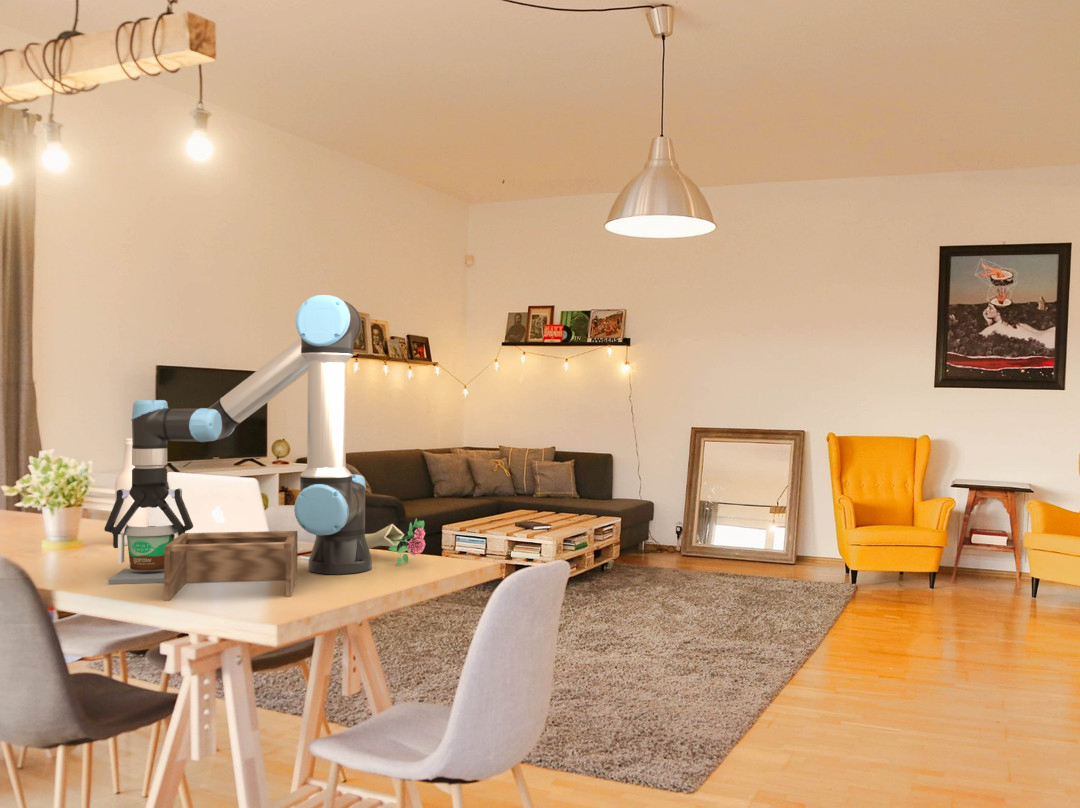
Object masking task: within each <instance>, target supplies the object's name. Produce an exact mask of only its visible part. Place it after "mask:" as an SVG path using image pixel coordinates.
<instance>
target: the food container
mask: <svg viewBox="0 0 1080 808" xmlns="http://www.w3.org/2000/svg"><path fill="white" fill-rule="evenodd" d="M176 532H178V531H177V530H176V528H175V527H174V526H173V524H169V525H161V526H156V525H150V526H148V527H132V526H128V524H127V525H126V527H125V530H124V535H127V541H128V546H127V548H128V560H129V569H133V570H160V569H164V547H165V546H166V545H167V544H169V543H170V542H171V541H173V540H174V534H175V533H176Z"/></svg>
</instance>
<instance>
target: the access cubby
mask: <svg viewBox="0 0 1080 808" xmlns="http://www.w3.org/2000/svg"><path fill="white" fill-rule="evenodd" d="M255 581H256V582H259V581H260V582H261V581H262V582H263V581H285V592H286V593H285V597H286V598H287V597H289V598H291V597H292V595H293V592H294V589H295V586H296V584H297V581H298V530H278V531H277V530H276V531H275V530H273V531H270V530H268V531H267V530H266V531H230V532H229V531H228V532H227V531H224V532H223V531H222V532H220V531H219V532H185V533H182V534H181V535H179V536H178V537H177V538H175V539H174V540H173V541H171V542H170V543H169V544H167V545H166V546H165V547H164V587H163V593H164V595H163V596H164V597H163V601H165V602H166V601H167V602H168V601H171V600H172V599H173V597H175V596H176V594H178V592H179V591H180V590H181V589H182V588H183V587H184V586H185V585H186V584H191V583H192V582H193V583H192V584H194V583H196V584H197V583H221V582H223V583H224V582H225V583H230V582H255Z"/></svg>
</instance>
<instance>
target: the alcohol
mask: <svg viewBox="0 0 1080 808" xmlns="http://www.w3.org/2000/svg"><path fill="white" fill-rule="evenodd" d="M123 455H124V456H123V464H122V465H123V466H122V470H121V472H120V473H119V474H118V475H117V477H116V479H115V482H114V503H115V502H116V494H117V491H118V490H120V489H124V490H130V489H131V487H132V470H133V468H135V466H133V465H132V437H126V438H124V453H123ZM133 503H134V500H133V498H132V497H131V496H130V495H128V497H127V498H126V499H124V502H123V505H122V507H121V509H120V512H119V514H118V517H117V519H116V521H115V524H114V527H116V526H117V525H118V523H119V522H120V521H121V519H122V518H123V517H124V515H125V514H126V513H127V511H128V510H129V508H130V507H131V505H132V504H133ZM149 508H150V507H146V508H141V507H139V508H138V509H137V510H136V512H135V513H134V514H133V516H132V517H131V518H130V520H129V521H128V522H127V524H128V526H132V527H148V526H149V525H150V523H149V521H150V519H149V517H150V515H149V511H150V509H149ZM127 524H126V525H127ZM126 525H125V526H124V528H123V529H122V531H121V532H120V533H124V530H125V527H126ZM126 546H127V547H128V541H127V535H124V547H126Z"/></svg>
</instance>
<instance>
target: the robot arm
mask: <svg viewBox="0 0 1080 808" xmlns="http://www.w3.org/2000/svg"><path fill="white" fill-rule="evenodd" d="M362 326H363V323H362V319H361V315H360V313H359V312H358V310H357V309H356V308H355V306H353V305H352V304H351V303H349V302H347V301H345V300H343V299H341V298H339V297H337V296H335V295H329V294H317V295H314V296H311V297H309V298H308V299H306V300H305V301H304V302H303V303H302V304H301V305H300V307H299V308H298V310H297V312H296V316H295V327H296V331H297V334H298V335H299V338H298V339H297V340H295V341H293V342H292V344H290V345H288V346H287V347H286V348H285V349H283V350H282V351H281V352H279V353H278V354H277V355H276V356H274V357H273V358H272V359H270V360H269V361H268V362H266V364H264V365H262V366H261V367H260V368H258V369H257V370H256V371H254V372H253V373H252V374H251V375H249V376H248V377H247V378H246V379H244V380H242V381H241V382H240V383H239V384H237V385H236V386H235V387H234V388H232V389H231V390H230V391H228V392H227V393H226V394H224V396H222V397H220V399H218V400H217V401H216V402H215V403H213V404H211V405H210V406H209V407H207V408H206V407H205V408H204V407H200V408H171V407H169V406H168V401H166V400H165V399H163V400H162V399H137V400H135V401H134V402H133V404H132V411H131V412H132V415H131V430H132V431H131V432H132V433H131V435H132V437H131V438H132V465H133V466H135V468H133V470H132V487H131V489H130V490H124V489H120V490H118V491H117V494H116V502H115V501H114V504H113V507H112V509H111V511H110V515H109V517H108V519H107V521H106V524H105V526H104V532H107V533H111V534H112V539H113V541H112V542H113V543H112V547H113V548H114V549H117V564H122V563H125V546H124V533H120V532H121V531H122V529H123V528H124V526H125V525H126V524H127V522H128V521H129V520H130V518H131V517H132V516H133V514H134V513H135V512H136V510H137V509H138V508H139V507H141V508H146V507H149V508H152V509H153V508H154V509H155V508H159V509H160V510H161V511H162V512H163V514H164V516H166V517H167V519H168V521H169V522H170V523H171V525H173V526H174V527H175V528H176V530H177V531H178V532H176V533H175V534H174V539H175V538H177V537H178V536H179V535H181V534H182V533H187V531H190V530H191V529H193V528H194V524H193V522H192V519H191V516H190V514H189V511H188V509H187V506H186V504H185V502H184V499H183V490H182V488H180V487H178V488H177V489H175V488H174V489H173V488H172V489H171V488H169V487H168V469H167V467H166V466H167V465H168V442H200V443H206V442H214V441H217V440H222V439H224V438H226V437H230V435H232V433H233V432H234V431H235V428H236V427H237V426H239V424H241V423H242V422H243V421H245V420H246V419H247V418H249V417H250V416H251V415H253V414H254V413H256V412H257V411H258V410H259V409H261V408H262V407H263V406H265V405H266V404H267V403H269V402H270V401H271V400H273V398H275V397H276V396H277V395H279V394H280V393H282V392H283V391H285V390H286V389H287V388H288V387H290V386H291V385H292V384H293V383H296V381H297V380H299V379H300V378H301V377H303V376H304V375H306V374H307V429H306V430H307V437H306V438H307V440H306V441H307V446H306V447H307V449H306V450H307V453H306V454H307V455H306V459H307V461H306V464H307V465H306V468H305V469H304V470H303V471H302V472H301V473H300V475H299V477H300V478H299V483H300V485H299V494H298V495H297V496H296V499H295V503H294V506H293V507H294V508H293V511H294V516H295V517H294V518H295V519H296V521H297V523H298V525H299V526H300V527H301V528H302V529H303V530H304V531H306V532H307V533H309V534H312V535H314V536H315V539H314V540H315V541H314V543H313V546H312V550H311V553H310V555H309V558H308V562H307V563H308V571H309V572H311V573H315V574H321V575H322V574H323V575H346V574H347V575H348V574H356V573H357V574H359V573H364V572H368V571H370V570H372V568H373V558H372V556H371V551H370V548H368V545H367V542H366V539H365V534H366V490H367V486H366V479H365V476H364V475H361V474H354V473H353V474H352V472H351V471H350V470H349V469H348V468H347V466H346V465H347V464H346V463H347V461H346V459H347V457H346V455H347V454H346V453H347V448H346V447H347V445H346V444H347V443H346V442H347V441H346V440H347V436H346V435H347V363H348V361H350V359H352V358H353V357H354V344H355V342H356V341H357V340H358V338H359V337H360V335H361V333H362V328H363V327H362ZM128 495H130V496H131V497H132V498H133V500H134V503H133V504H132V505H131V507H130V508H129V510H128V511H127V513H126V514H125V515H124V517H123V518H122V519H121V521H120V522H119V523H118V525H117V526H116V527H115V521H116V519H117V517H118V514H119V512H120V509H121V507H122V505H123V502H124V499H126V498H127V497H128ZM169 495H170V496H171V498H172V499H174V502H175V504H176V507H177V509H178V512H179V514H180V516H181V519H182V521H183V523H184V525H183V523H182V522H181V521H180V519H179V518H178V517H177V515H176V514H175V513H174V511H173V510H172V508H171V507H170V506H169V504H168V502H167V501H166V499H167V497H168V496H169Z"/></svg>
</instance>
